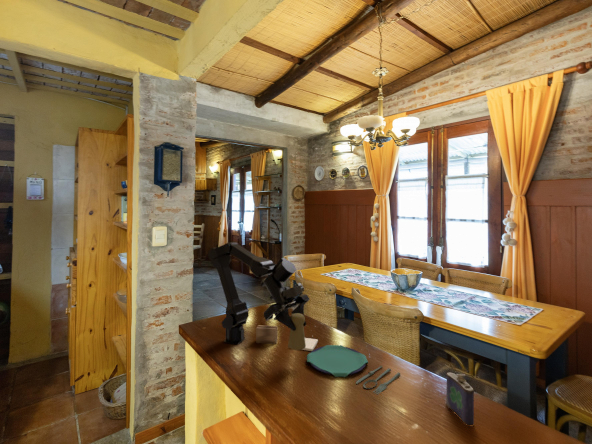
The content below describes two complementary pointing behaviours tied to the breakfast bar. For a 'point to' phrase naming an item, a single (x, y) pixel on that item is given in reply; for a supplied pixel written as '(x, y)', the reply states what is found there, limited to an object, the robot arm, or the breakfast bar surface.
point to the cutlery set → (344, 363)
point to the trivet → (310, 344)
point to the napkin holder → (266, 334)
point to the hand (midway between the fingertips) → (300, 327)
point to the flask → (460, 397)
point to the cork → (297, 332)
